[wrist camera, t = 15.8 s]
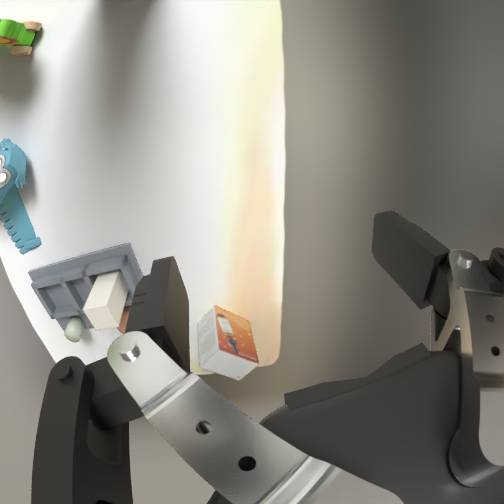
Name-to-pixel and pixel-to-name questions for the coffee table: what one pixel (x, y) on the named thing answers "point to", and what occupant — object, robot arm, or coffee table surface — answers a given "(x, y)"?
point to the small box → (226, 344)
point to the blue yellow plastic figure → (15, 197)
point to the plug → (107, 300)
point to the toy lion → (18, 35)
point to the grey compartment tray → (82, 286)
